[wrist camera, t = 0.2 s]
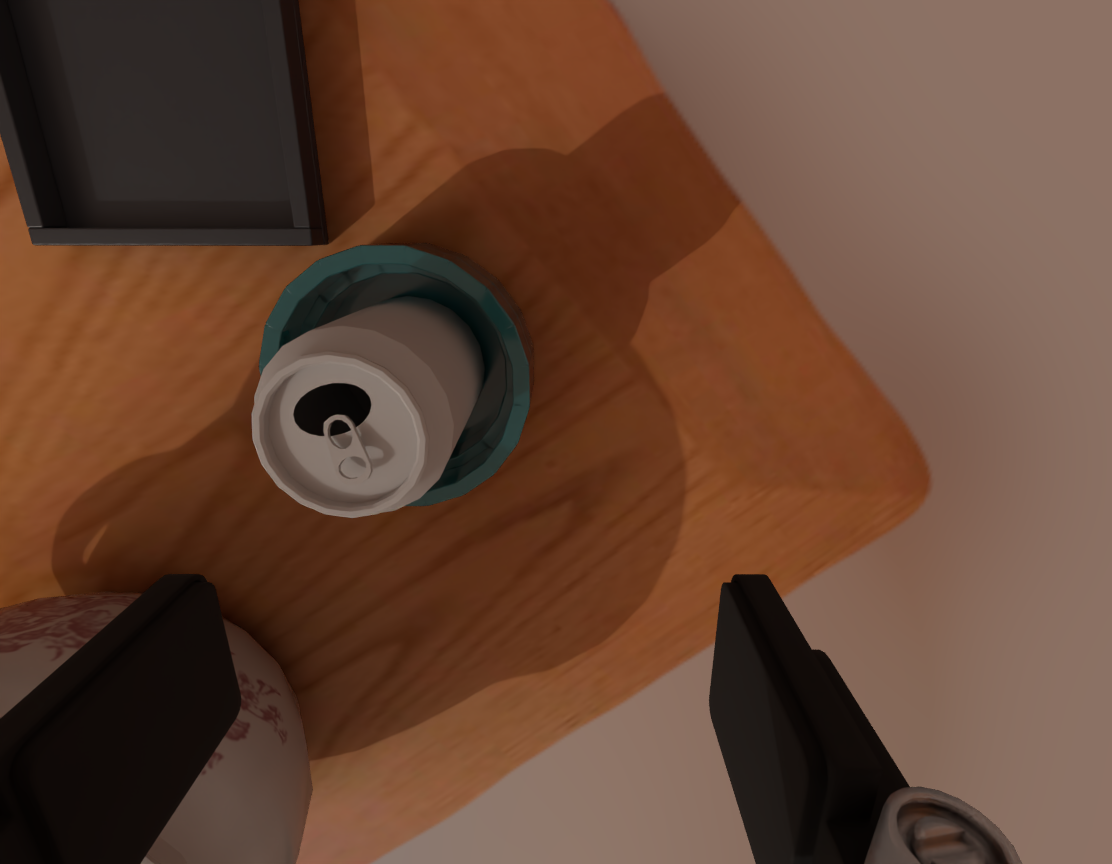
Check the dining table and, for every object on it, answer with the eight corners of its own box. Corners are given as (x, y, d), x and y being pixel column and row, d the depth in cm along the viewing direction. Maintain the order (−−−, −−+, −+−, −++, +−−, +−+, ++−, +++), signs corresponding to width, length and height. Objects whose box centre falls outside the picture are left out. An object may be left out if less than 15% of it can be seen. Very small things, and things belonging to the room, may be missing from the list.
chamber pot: (459, 713, 40) (362, 1178, 20) (207, 880, 46) (-55, 1363, 26) (128, 417, 33) (-509, 694, 13) (-120, 661, 39) (-809, 1099, 19)
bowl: (288, 242, 30) (236, 245, 25) (532, 242, 29) (527, 245, 25) (321, 467, 34) (283, 506, 29) (535, 468, 34) (531, 507, 29)
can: (456, 274, 30) (391, 302, 18) (506, 406, 32) (477, 503, 21) (325, 320, 30) (186, 375, 19) (384, 445, 33) (291, 559, 22)
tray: (-22, -83, 25) (-72, -109, 23) (288, -84, 25) (264, -111, 23) (67, 244, 30) (31, 245, 28) (329, 244, 30) (312, 245, 28)
